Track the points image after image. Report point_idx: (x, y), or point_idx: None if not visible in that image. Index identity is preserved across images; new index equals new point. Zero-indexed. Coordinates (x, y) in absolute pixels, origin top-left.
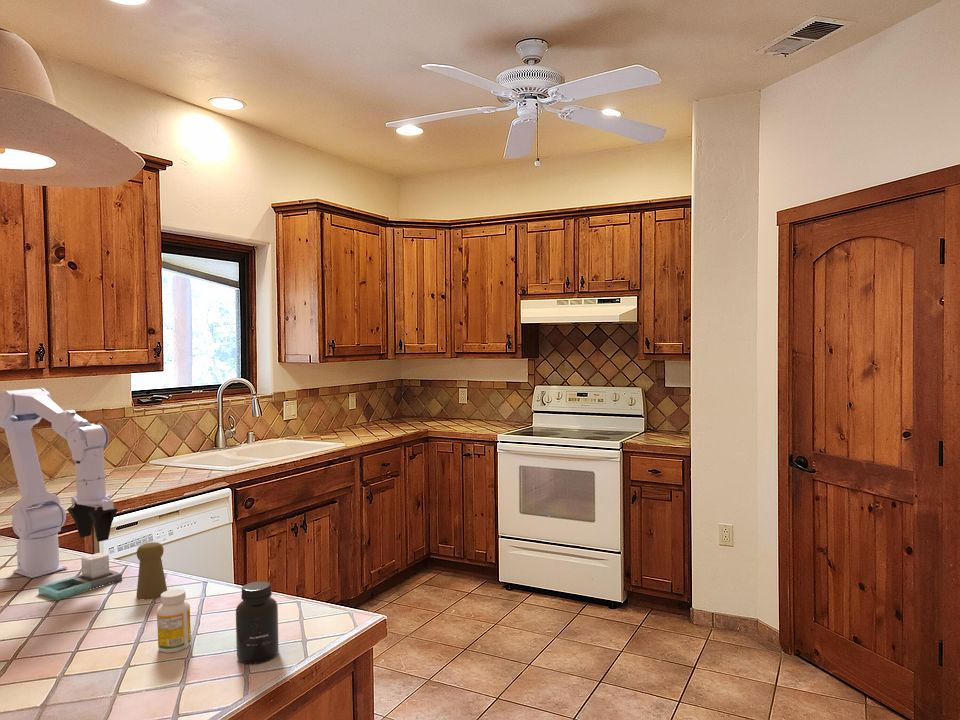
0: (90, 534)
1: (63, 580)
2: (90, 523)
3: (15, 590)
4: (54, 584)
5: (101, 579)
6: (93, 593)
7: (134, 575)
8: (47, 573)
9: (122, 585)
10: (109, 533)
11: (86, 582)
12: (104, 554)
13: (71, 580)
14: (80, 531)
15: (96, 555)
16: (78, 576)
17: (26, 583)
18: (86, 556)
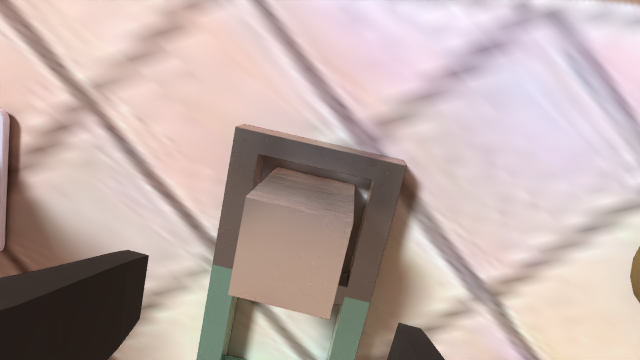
0: (145, 260)
1: (218, 304)
2: (75, 293)
3: None
4: (223, 344)
5: (379, 257)
6: (414, 315)
7: (409, 91)
8: (5, 195)
9: (463, 213)
10: (436, 349)
11: (344, 302)
12: (315, 218)
13: None
14: (105, 353)
15: (283, 246)
16: (234, 251)
17: None
18: (240, 273)
